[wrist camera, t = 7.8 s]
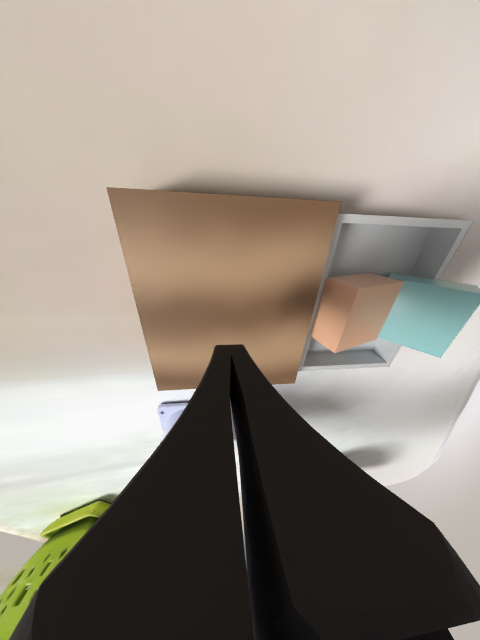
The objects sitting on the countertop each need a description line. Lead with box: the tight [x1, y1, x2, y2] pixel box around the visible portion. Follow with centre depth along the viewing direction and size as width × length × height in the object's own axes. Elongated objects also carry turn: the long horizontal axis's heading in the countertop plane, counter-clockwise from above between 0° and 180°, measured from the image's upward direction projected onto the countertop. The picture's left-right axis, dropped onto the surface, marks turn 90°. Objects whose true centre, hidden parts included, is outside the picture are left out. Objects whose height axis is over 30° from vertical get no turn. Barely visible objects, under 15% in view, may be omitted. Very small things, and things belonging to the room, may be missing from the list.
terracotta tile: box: [311, 273, 404, 353], centre depth 14 cm, size 5×5×2 cm
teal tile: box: [378, 272, 480, 358], centre depth 15 cm, size 5×5×2 cm
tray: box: [298, 213, 473, 371], centre depth 16 cm, size 13×10×2 cm
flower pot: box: [0, 500, 111, 640], centre depth 28 cm, size 14×14×13 cm
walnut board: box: [106, 187, 341, 391], centre depth 14 cm, size 14×12×4 cm
